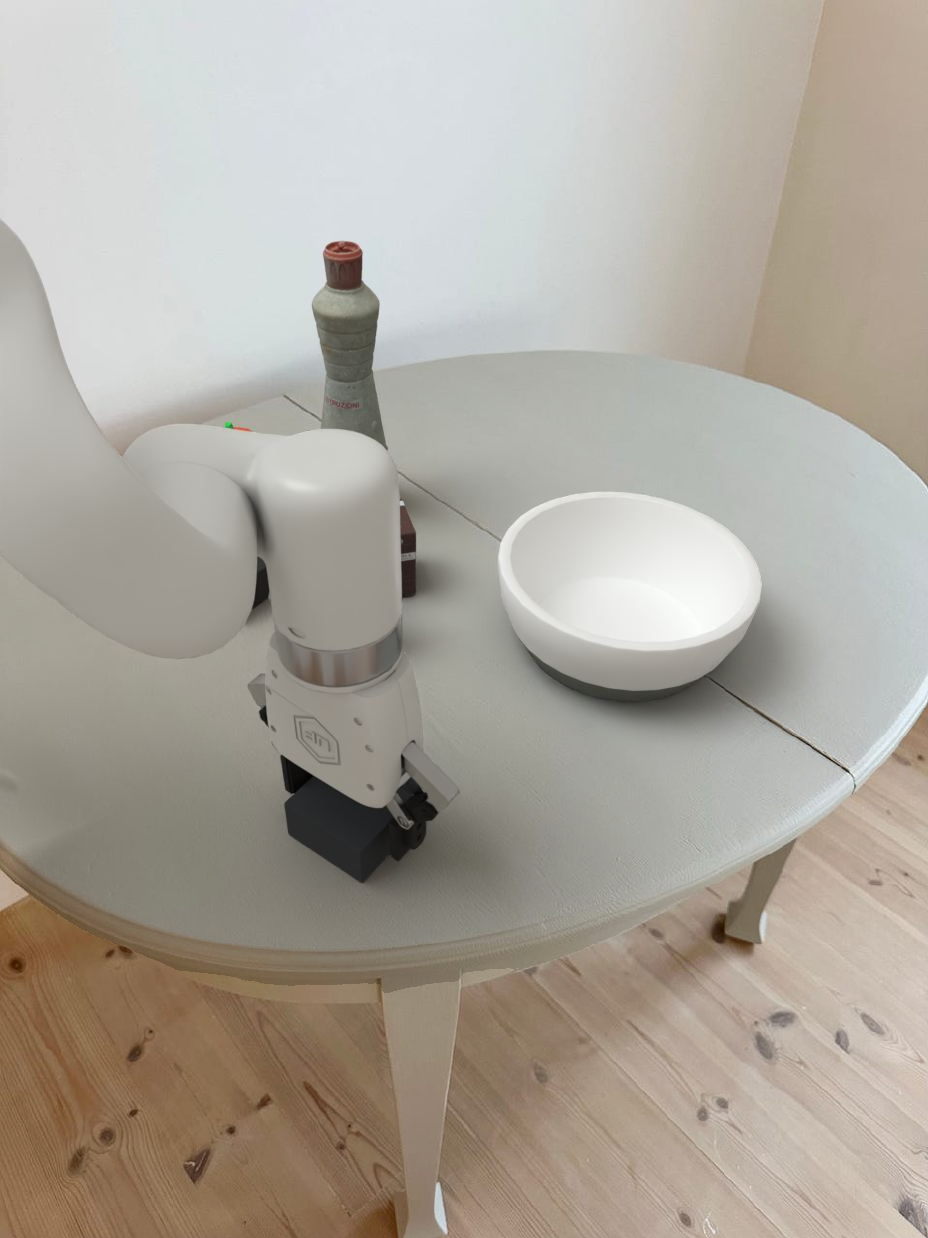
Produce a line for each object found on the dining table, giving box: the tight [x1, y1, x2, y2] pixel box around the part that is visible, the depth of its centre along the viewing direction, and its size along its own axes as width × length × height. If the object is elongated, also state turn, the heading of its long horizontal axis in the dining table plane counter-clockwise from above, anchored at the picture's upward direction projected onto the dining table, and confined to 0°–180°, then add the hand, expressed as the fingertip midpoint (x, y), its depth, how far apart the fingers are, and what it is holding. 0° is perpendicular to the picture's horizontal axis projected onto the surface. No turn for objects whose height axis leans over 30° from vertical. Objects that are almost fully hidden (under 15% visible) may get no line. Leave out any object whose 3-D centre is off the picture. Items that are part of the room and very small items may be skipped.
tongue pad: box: [283, 776, 413, 884], centre depth 69 cm, size 8×7×4 cm
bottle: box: [311, 240, 389, 452], centre depth 92 cm, size 9×9×28 cm
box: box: [400, 498, 417, 598], centre depth 90 cm, size 6×6×7 cm
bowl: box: [497, 491, 764, 702], centre depth 84 cm, size 22×22×8 cm
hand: (354, 812), depth 68 cm, fingers open, 9 cm apart
